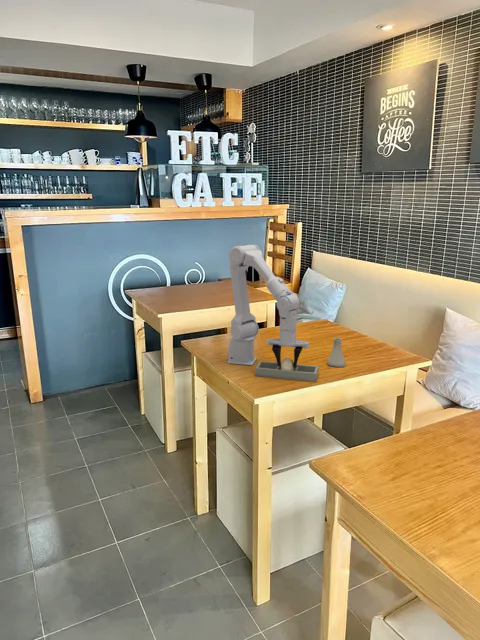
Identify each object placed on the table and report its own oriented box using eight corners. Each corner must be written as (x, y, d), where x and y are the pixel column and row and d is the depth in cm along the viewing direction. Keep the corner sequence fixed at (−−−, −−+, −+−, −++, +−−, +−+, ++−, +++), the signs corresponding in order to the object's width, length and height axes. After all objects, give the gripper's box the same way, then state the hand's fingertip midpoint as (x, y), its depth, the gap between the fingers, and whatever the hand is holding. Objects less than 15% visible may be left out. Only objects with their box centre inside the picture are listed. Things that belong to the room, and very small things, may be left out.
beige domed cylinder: (279, 374, 172) (280, 359, 170) (282, 369, 176) (282, 355, 175) (292, 375, 171) (293, 361, 169) (294, 371, 175) (295, 357, 173)
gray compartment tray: (255, 376, 173) (255, 368, 172) (259, 368, 180) (259, 361, 179) (315, 382, 167) (316, 373, 167) (318, 374, 174) (318, 366, 174)
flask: (344, 361, 188) (346, 336, 185) (347, 368, 181) (348, 342, 178) (325, 360, 188) (326, 335, 186) (327, 367, 181) (328, 341, 179)
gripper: (310, 327, 171) (309, 364, 175) (269, 324, 175) (269, 360, 178) (307, 332, 165) (306, 370, 168) (265, 329, 168) (265, 367, 172)
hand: (287, 366), depth 173 cm, fingers open, 5 cm apart
